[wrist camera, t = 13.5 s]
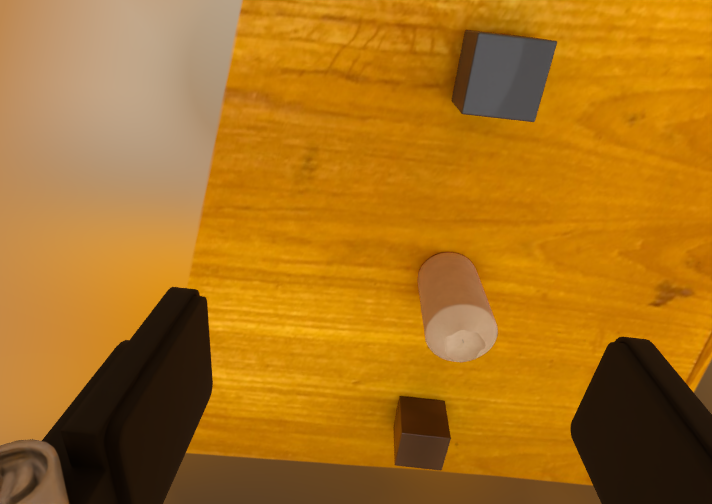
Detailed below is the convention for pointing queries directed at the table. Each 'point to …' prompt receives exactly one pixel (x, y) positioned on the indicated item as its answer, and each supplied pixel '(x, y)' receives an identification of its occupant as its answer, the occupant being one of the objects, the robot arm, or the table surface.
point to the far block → (421, 433)
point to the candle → (455, 308)
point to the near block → (502, 75)
